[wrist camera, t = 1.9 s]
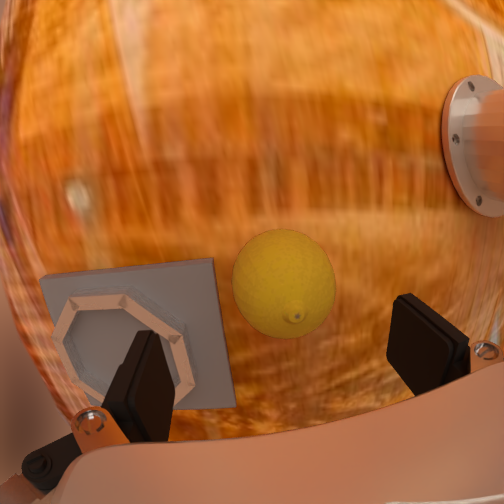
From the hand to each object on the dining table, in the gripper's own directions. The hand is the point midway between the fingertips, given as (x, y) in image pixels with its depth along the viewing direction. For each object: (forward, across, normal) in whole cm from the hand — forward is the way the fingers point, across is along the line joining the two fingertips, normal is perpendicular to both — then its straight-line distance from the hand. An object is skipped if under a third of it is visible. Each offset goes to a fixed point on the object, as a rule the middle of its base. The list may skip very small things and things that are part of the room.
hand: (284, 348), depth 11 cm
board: (+10, +10, +6) cm, 15 cm away
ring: (+9, +11, +6) cm, 15 cm away
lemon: (+10, -1, 0) cm, 10 cm away
